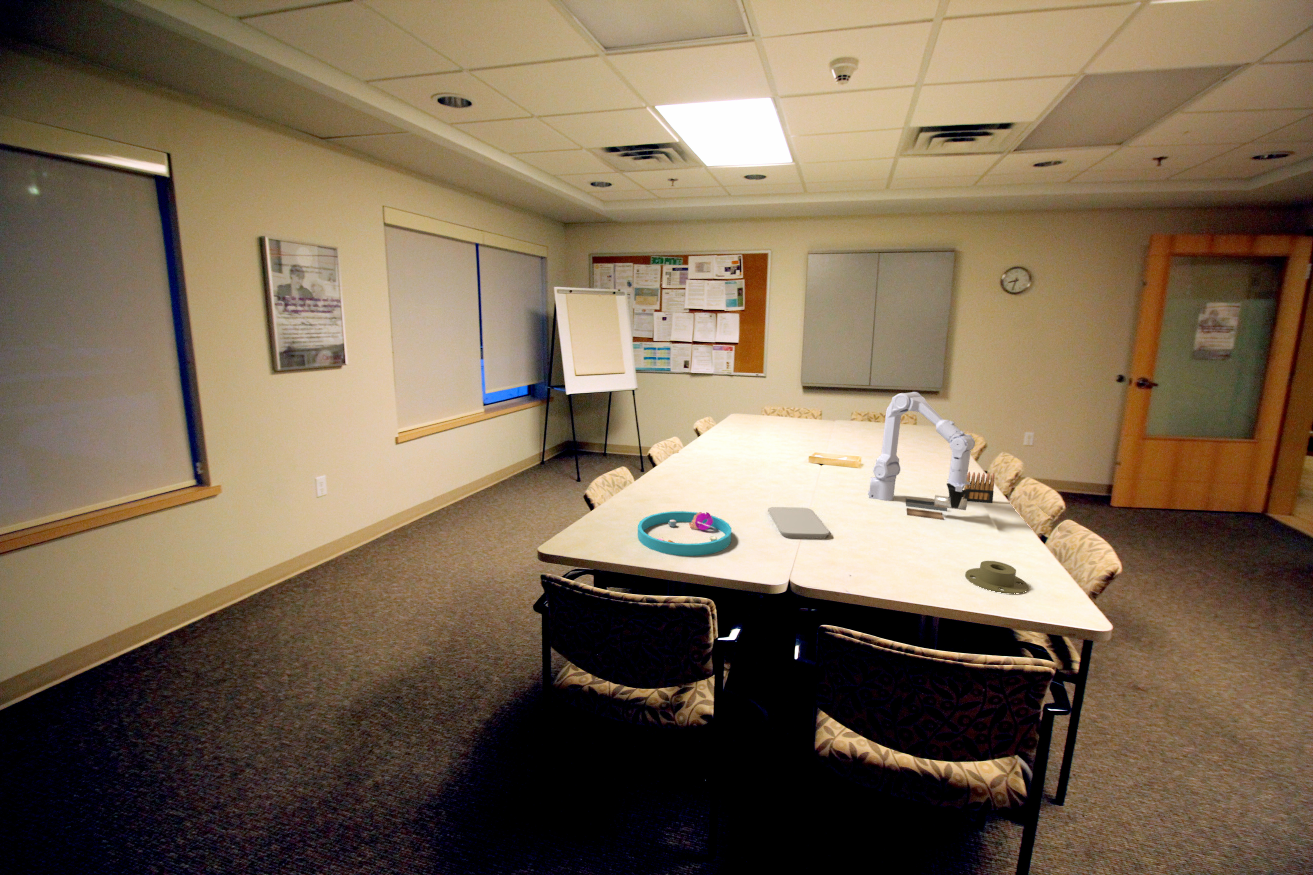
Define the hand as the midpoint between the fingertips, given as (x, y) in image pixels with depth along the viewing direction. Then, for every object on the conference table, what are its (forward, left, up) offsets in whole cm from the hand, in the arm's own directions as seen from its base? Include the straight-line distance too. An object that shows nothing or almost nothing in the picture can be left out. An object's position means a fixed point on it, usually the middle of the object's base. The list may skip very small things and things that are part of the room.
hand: (953, 505), depth 205 cm
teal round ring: (-83, -55, -6) cm, 100 cm away
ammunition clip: (+12, +30, -6) cm, 33 cm away
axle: (-1, 0, -1) cm, 2 cm away
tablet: (-51, -28, -6) cm, 58 cm away
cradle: (-8, +11, -6) cm, 15 cm away
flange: (+6, -50, -6) cm, 51 cm away
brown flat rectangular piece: (-9, 0, -6) cm, 11 cm away
